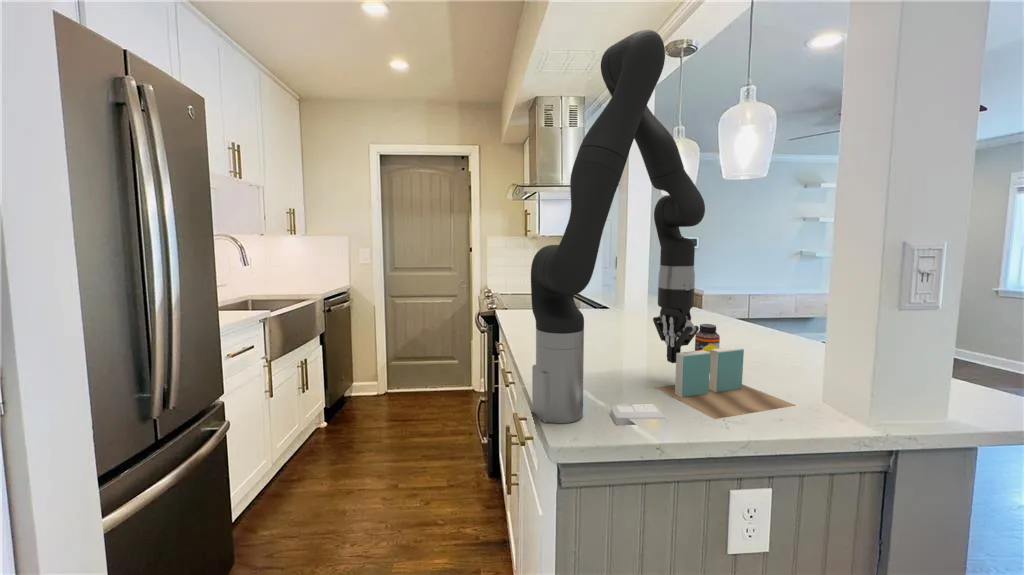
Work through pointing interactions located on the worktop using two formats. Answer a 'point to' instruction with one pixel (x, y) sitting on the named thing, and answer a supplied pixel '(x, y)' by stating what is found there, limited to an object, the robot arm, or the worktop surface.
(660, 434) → the worktop surface
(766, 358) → the worktop surface
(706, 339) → the supplement bottle
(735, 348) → the tile far
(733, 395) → the board
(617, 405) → the white light switch
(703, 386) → the tile near
